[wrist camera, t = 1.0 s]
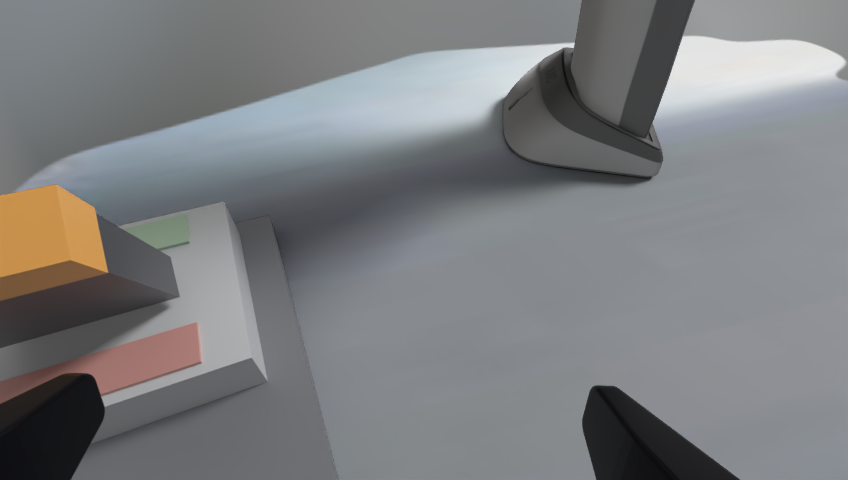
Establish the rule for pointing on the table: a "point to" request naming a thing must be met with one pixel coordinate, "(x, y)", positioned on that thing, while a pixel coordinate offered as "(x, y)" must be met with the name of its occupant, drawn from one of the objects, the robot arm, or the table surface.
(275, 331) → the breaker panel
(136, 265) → the lever
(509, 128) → the handheld scanner
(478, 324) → the table surface
